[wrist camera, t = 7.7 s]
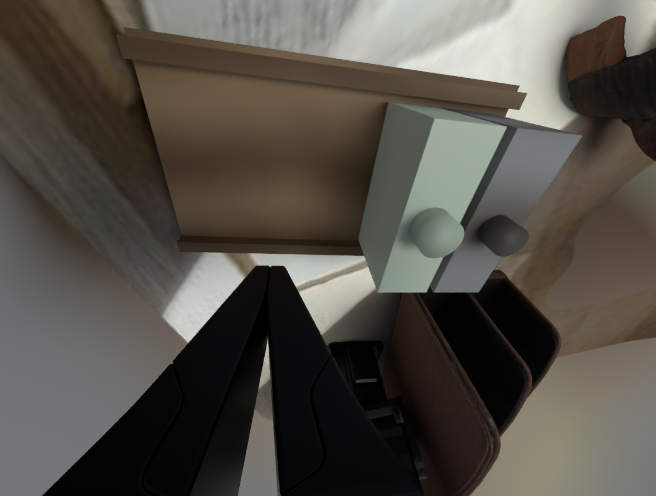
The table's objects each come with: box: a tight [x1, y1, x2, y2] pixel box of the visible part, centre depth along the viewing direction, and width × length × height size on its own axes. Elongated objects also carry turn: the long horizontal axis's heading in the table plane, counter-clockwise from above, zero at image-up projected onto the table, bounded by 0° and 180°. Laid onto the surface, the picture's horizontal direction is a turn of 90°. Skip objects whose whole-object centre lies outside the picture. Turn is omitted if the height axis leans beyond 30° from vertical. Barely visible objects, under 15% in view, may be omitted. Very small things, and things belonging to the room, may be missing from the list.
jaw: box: [358, 101, 507, 292], centre depth 13 cm, size 9×3×7 cm, turn 173°
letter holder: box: [382, 270, 561, 496], centre depth 24 cm, size 10×20×14 cm, turn 1°
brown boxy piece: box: [116, 27, 582, 292], centre depth 13 cm, size 12×20×8 cm, turn 83°
